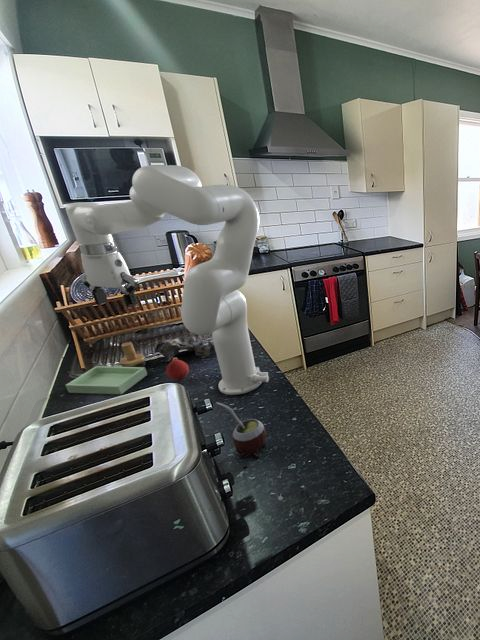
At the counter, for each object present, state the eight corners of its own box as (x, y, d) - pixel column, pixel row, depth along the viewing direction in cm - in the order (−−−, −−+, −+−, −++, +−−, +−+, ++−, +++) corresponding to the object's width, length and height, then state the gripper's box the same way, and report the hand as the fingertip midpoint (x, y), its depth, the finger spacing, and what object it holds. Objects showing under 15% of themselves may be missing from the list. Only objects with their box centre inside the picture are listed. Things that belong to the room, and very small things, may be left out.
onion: (180, 386, 108) (173, 364, 104) (165, 383, 109) (157, 361, 105) (195, 376, 113) (189, 354, 109) (180, 373, 114) (173, 352, 110)
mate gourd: (273, 452, 85) (263, 403, 79) (239, 469, 80) (225, 418, 74) (261, 436, 90) (251, 388, 83) (228, 451, 85) (215, 402, 78)
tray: (147, 374, 113) (145, 367, 112) (121, 394, 103) (118, 386, 102) (99, 373, 112) (96, 365, 111) (68, 392, 103) (65, 385, 102)
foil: (201, 357, 117) (159, 333, 114) (192, 377, 122) (151, 355, 119) (222, 339, 127) (184, 318, 125) (213, 359, 132) (176, 338, 129)
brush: (151, 361, 120) (143, 339, 116) (137, 371, 114) (128, 349, 110) (132, 360, 120) (124, 339, 116) (117, 371, 114) (108, 348, 110)
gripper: (138, 247, 101) (154, 302, 108) (82, 243, 102) (101, 297, 109) (115, 254, 94) (133, 311, 101) (55, 249, 95) (78, 306, 102)
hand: (117, 304), depth 105 cm, fingers open, 9 cm apart
